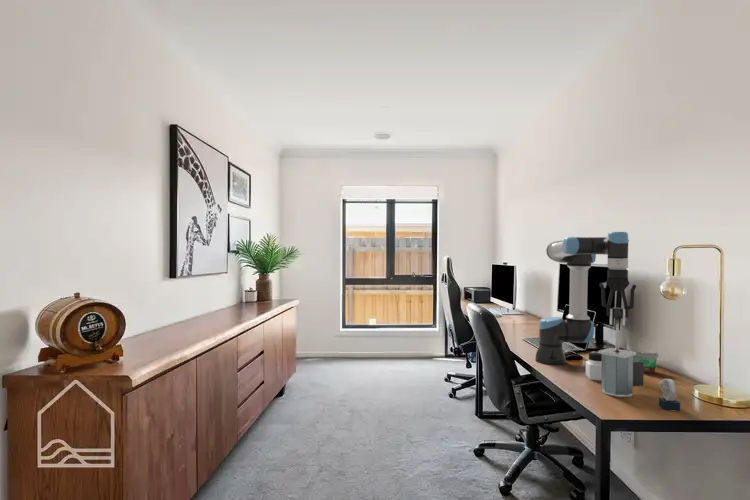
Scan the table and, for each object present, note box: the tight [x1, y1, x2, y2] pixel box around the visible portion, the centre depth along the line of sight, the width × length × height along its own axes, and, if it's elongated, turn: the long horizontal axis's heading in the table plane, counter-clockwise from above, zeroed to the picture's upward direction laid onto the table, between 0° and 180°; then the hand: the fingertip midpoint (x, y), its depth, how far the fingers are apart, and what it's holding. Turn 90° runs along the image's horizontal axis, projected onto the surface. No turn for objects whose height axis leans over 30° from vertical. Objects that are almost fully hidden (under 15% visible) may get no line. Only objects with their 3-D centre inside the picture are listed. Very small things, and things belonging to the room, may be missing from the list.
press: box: [597, 347, 645, 399], centre depth 183 cm, size 16×12×17 cm
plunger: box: [611, 307, 624, 352], centre depth 182 cm, size 9×9×23 cm
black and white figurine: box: [585, 351, 602, 382], centre depth 203 cm, size 7×7×12 cm
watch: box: [658, 378, 681, 412], centre depth 165 cm, size 6×8×11 cm
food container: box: [630, 349, 659, 375], centre depth 214 cm, size 12×6×10 cm, turn 73°
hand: (617, 324), depth 182 cm, fingers closed on plunger, 4 cm apart
